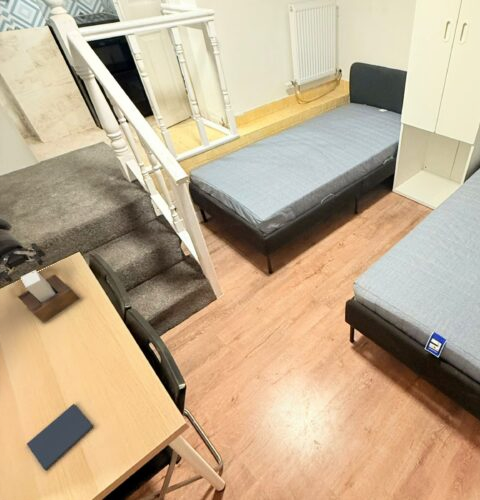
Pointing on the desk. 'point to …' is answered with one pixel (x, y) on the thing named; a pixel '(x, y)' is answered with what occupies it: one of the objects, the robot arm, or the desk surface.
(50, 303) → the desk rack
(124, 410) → the desk surface
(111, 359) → the desk surface
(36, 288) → the cosmetic box
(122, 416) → the desk surface
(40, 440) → the mat
